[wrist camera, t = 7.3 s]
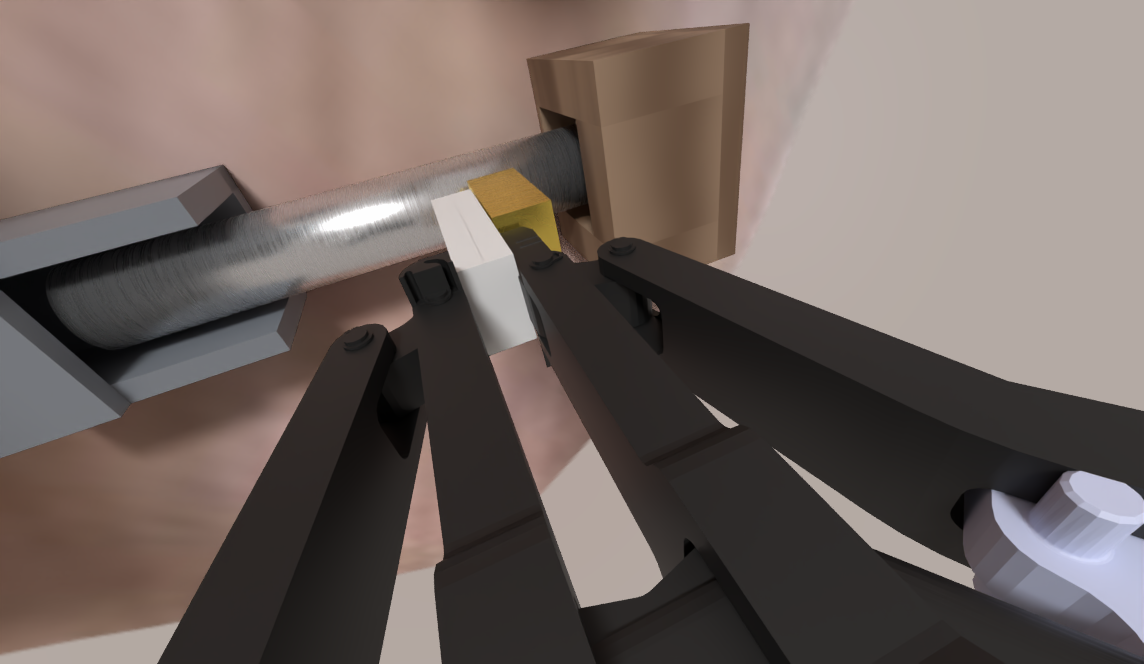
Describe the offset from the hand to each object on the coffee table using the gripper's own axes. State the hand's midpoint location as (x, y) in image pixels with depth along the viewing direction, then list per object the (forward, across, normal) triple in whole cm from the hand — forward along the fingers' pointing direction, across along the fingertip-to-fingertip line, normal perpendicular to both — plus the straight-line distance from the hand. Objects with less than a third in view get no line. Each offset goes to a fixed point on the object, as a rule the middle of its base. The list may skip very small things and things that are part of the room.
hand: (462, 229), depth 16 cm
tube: (+7, -3, 0) cm, 7 cm away
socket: (+7, +8, 0) cm, 10 cm away
